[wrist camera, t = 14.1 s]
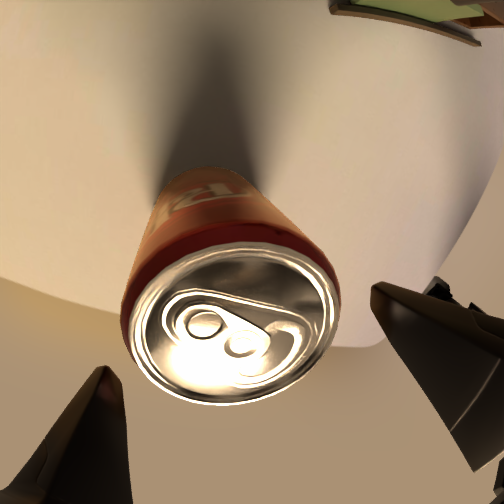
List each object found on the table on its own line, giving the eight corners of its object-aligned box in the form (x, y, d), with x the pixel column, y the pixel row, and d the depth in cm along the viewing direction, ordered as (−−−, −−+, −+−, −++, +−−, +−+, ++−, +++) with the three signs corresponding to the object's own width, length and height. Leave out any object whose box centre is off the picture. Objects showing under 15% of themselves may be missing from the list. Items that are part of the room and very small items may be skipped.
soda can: (280, 215, 20) (381, 319, 9) (210, 284, 21) (240, 426, 10) (206, 141, 16) (241, 164, 6) (132, 223, 18) (77, 353, 7)
